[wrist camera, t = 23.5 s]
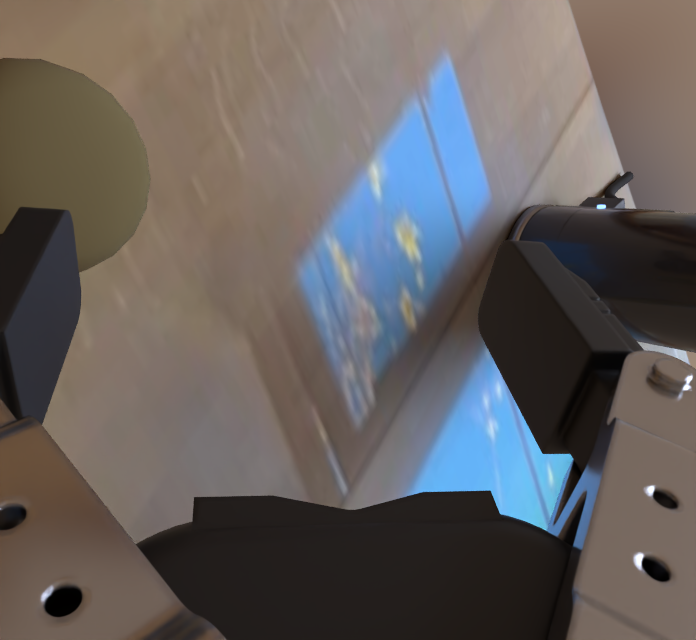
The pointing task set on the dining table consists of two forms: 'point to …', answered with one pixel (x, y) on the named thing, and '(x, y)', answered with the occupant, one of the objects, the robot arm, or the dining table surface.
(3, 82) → the olive game pawn
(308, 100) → the dining table surface
